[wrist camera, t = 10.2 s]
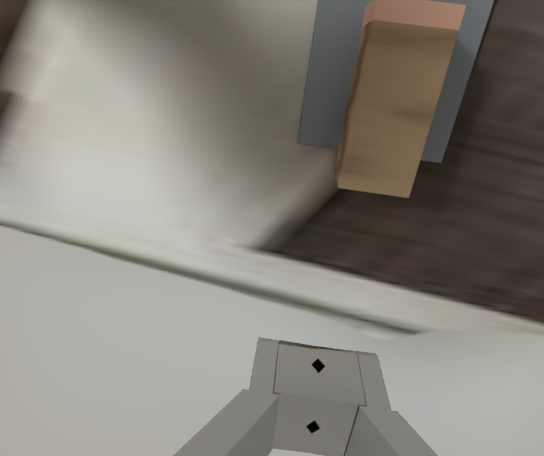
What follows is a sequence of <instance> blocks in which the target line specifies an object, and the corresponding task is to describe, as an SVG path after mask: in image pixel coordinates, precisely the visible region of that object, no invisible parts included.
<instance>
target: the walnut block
mask: <svg viewBox="0 0 544 456" xmlns="http://www.w3.org/2000/svg"><path fill="white" fill-rule="evenodd" d="M465 8H466V5H461V4H453V3H444V2H436V1H427V0H372V1H371V2H370V3H369V4H368V5H367V7H366V9H365V14H364V19H363V25H362V30H361V35H360V40H359V45H358V50H357V55H356V60H355V65H354V71H353V76H352V81H351V86H350V91H349V96H348V101H347V106H346V111H345V117H344V122H343V127H342V132H341V137H340V142H339V147H338V152H337V158H336V163H335V168H334V171H335V175H336V180H337V185H338V188H342V189H349V190H356V191H363V192H370V193H377V194H384V195H391V196H398V197H405V198H409V196H410V193H411V190H412V186H413V183H414V179H415V176H416V173H417V169H418V166H419V163H420V159H421V156H422V153H423V149H424V146H425V142H426V139H427V136H428V132H429V129H430V126H431V122H432V119H433V116H434V112H435V109H436V106H437V102H438V99H439V95H440V92H441V89H442V85H443V82H444V79H445V75H446V72H447V69H448V65H449V62H450V59H451V55H452V52H453V48H454V45H455V42H456V38H457V35H458V32H459V28H460V25H461V22H462V18H463V15H464V12H465Z"/></svg>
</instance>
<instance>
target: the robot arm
mask: <svg viewBox="0 0 544 456" xmlns="http://www.w3.org/2000/svg"><path fill="white" fill-rule="evenodd" d="M272 448H274V449H282V450H291V451H300V452H308V453H313V454H318V455H324V456H437V455H436V453H435V452H434V451H433V450H432V449H431V448H430V447H429V446H428V445H427V443H425V441H424V440H423V439H422V438H421V437H420V436H419V435H418V434H417V432H416V431H415V430H414V429H413V428H412V427H411V426H410V425H409V424H408V422H407V421H406V420H405V419H404V418H403V417H402V416H401V415H400V414H399V413H398V412H397V411H392V410H391V408H390V404H389V400H388V396H387V392H386V388H385V384H384V380H383V375H382V371H381V368H380V363H379V359H378V356H377V355H376V354H375V353H367V352H359V351H350V350H342V349H334V348H327V347H319V346H311V345H305V344H299V343H293V342H287V341H281V340H279V342H278V340H272V339H266V338H260V337H259V339H258V342H257V348H256V354H255V359H254V365H253V370H252V376H251V382H250V388H249V390H246V389H243V390H242V391H241V392H240V393H239V394H238V395H236V396H235V397H234V399H232V400H231V401H230V402H229V403H228V404H227V405H226V406H225V407H224V408H223V409H222V410H221V411H220V412H219V413H218V414H217V415H215V416H214V417H213V418H212V419H211V420H210V421H209V422H208V423H207V424H206V425H205V426H204V427H203V428H202V429H201V430H200V431H199V432H198V433H197V434H196V435H195V436H194V437H192V438H191V439H190V440H189V441H188V442H187V443H186V444H185V445H184V446H183V447H182V448H181V449H180V450H179V451H178V452H177V453H176V454H175V455H174V456H268V455H269V453H270V452H271V450H272Z"/></svg>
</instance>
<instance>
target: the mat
mask: <svg viewBox="0 0 544 456" xmlns="http://www.w3.org/2000/svg"><path fill="white" fill-rule="evenodd" d="M371 1H372V0H318V7H317V14H316V21H315V28H314V34H313V41H312V48H311V55H310V62H309V69H308V76H307V82H306V89H305V96H304V103H303V110H302V117H301V124H300V130H299V137H298V143H299V144H306V145H314V146H321V147H328V148H335V149H338V147H339V142H340V137H341V132H342V127H343V122H344V117H345V111H346V106H347V101H348V96H349V91H350V86H351V81H352V76H353V71H354V65H355V60H356V55H357V50H358V45H359V40H360V35H361V30H362V25H363V19H364V14H365V9H366V7H367V5H368V4H369V3H370V2H371ZM427 1H436V2H444V3H453V4H461V5H466V8H465V12H464V15H463V18H462V22H461V25H460V28H459V32H458V35H457V38H456V42H455V45H454V48H453V52H452V55H451V59H450V62H449V65H448V69H447V72H446V75H445V79H444V82H443V85H442V89H441V92H440V95H439V99H438V102H437V106H436V109H435V112H434V116H433V119H432V122H431V126H430V129H429V132H428V136H427V139H426V142H425V146H424V149H423V153H422V156H421V159H420V160H422V161H429V162H436V163H442V160H443V156H444V153H445V150H446V147H447V144H448V141H449V138H450V135H451V132H452V129H453V126H454V123H455V119H456V116H457V113H458V110H459V107H460V104H461V101H462V98H463V95H464V92H465V89H466V86H467V82H468V79H469V76H470V73H471V70H472V67H473V64H474V61H475V58H476V55H477V52H478V48H479V45H480V42H481V39H482V36H483V33H484V30H485V27H486V24H487V21H488V18H489V15H490V11H491V8H492V5H493V2H494V0H427Z"/></svg>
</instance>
